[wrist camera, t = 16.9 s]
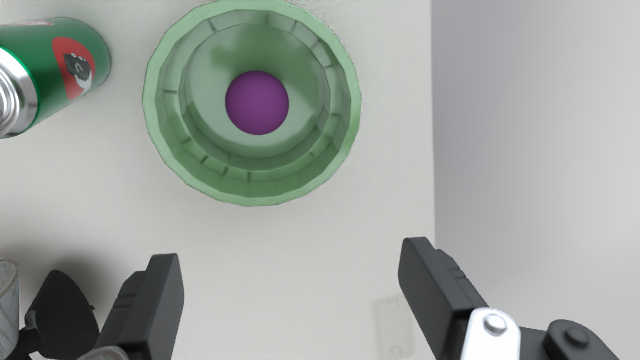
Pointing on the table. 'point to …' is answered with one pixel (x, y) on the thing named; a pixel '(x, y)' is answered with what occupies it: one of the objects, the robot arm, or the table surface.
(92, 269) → the table surface
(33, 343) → the telephone
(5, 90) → the soda can
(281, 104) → the plum ball
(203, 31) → the green bowl
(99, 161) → the table surface
